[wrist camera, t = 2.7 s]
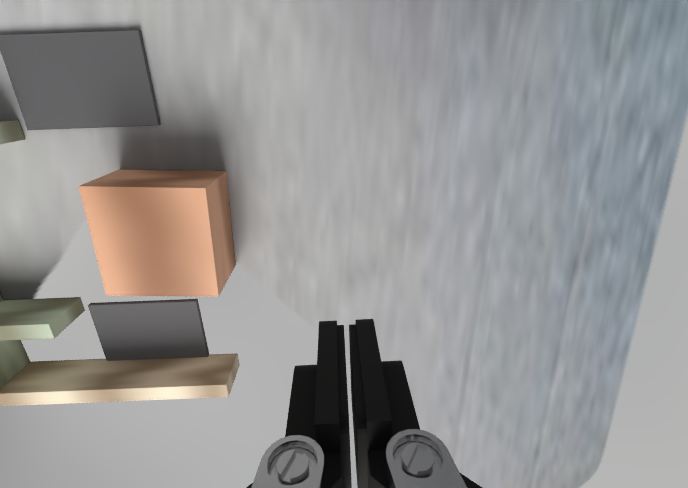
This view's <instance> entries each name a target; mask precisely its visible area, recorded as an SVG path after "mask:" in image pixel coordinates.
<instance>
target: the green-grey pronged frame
mask: <svg viewBox="0 0 688 488" xmlns="http://www.w3.org/2000/svg"><path fill="white" fill-rule="evenodd" d="M24 139H25V137H24V134H23V132H22V129H21V126H20V123H19V120H12V121H0V144H3V143H9V142H14V141H19V140H24ZM84 311H85V310H84V307H83V304H82V301H81V298H80V297H74V298H48V299H22V300H3V299H2V297H1V294H0V404H1V406H13V405H38V404H63V403H88V402H112V401H136V400H161V399H186V398H212V397H228V396H229V394H230V391H231V388H232V385H233V383H234V380H235V377H236V373H237V370H238V368H239V360H238V354H215V355H209V356H208V357H198V358H172V359H147V360H122V361H107V360H106V359H91V360H90V359H89V360H64V361H39V362H30V360H29V358H28V356H27V353H26V351H25V349H24V347H23V344H22V342H21V340H26V339H51V338H55V337H56V336H57V335H58V334H59V333H61V332H62V331H63V330H64V329H65V328H66V327H67V326H68V325H69V324H70V323H71V322H73V321H74V320H75V319H76V318H77V317H78V316H79V315H80V314H81V313H82V312H84Z"/></svg>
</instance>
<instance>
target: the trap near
mask: <svg viewBox="0 0 688 488" xmlns="http://www.w3.org/2000/svg"><path fill="white" fill-rule="evenodd" d="M0 51H1V54H2V56H3V59H4V62H5V65H6V68H7V71H8V74H9V77H10V80H11V83H12V86H13V89H14V91H15V94H16V97H17V100H18V103H19V106H20V109H21V112H22V115H23V118H24V121H25V124H26V126H27V129H28V130H44V129H71V128H99V127H126V126H153V125H161V124H160V119H159V115H158V110H157V105H156V100H155V96H154V91H153V86H152V81H151V77H150V72H149V67H148V63H147V58H146V53H145V48H144V44H143V39H142V34H141V31H139V30H129V31H101V32H73V33H45V34H17V35H0Z"/></svg>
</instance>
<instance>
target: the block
mask: <svg viewBox="0 0 688 488" xmlns="http://www.w3.org/2000/svg"><path fill="white" fill-rule="evenodd" d="M79 190H80V193H81V197H82V201H83V205H84V209H85V213H86V217H87V221H88V225H89V229H90V233H91V237H92V241H93V245H94V249H95V253H96V256H97V261H98V264H99V269H100V272H101V276H102V280H103V284H104V288H105V292H106V295H114V296H119V295H120V296H123V295H124V296H219V295H220V293H221V291H222V289H223V287H224V286H225V283H226V282H227V280H228V278H229V276H230V275H231V273H232V271H233V269H234V267H235V265H236V263H235V254H234V244H233V234H232V224H231V214H230V204H229V194H228V184H227V174H226V171H183V170H121V169H120V170H117V171H115V172H112V173H110V174H108V175H105V176H103V177H100V178H98V179H95V180H93V181H90V182H88V183H86V184H83V185H81V186H79Z"/></svg>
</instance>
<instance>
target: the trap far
mask: <svg viewBox="0 0 688 488" xmlns="http://www.w3.org/2000/svg"><path fill="white" fill-rule="evenodd" d="M88 307H89V310H90V313H91V316H92V319H93V322H94V325H95V327H96V330H97V333H98V336H99V339H100V342H101V345H102V348H103V351H104V354H105V357H106V360H107V361H122V360H147V359H172V358H198V357H208V356H209V351H208V347H207V342H206V337H205V332H204V328H203V323H202V318H201V313H200V309H199V304H198V299H187V300H186V299H185V300H160V301H134V302H108V303H90V304H89V305H88Z"/></svg>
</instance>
